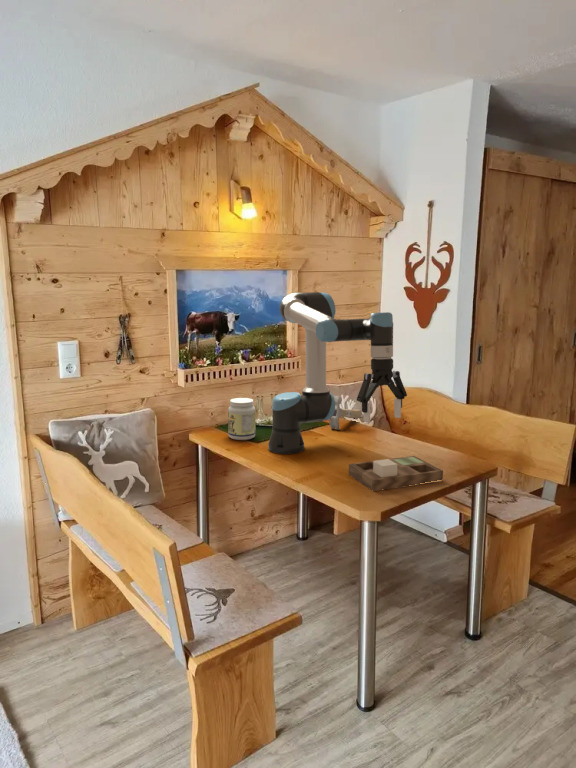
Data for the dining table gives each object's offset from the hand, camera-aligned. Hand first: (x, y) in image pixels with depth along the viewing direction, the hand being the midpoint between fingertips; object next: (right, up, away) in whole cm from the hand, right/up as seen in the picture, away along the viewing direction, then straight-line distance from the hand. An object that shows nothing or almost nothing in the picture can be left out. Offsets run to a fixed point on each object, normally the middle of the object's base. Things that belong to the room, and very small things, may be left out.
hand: (382, 419), depth 196 cm
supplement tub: (-53, -12, +60) cm, 81 cm away
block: (+1, -19, +2) cm, 19 cm away
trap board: (+6, -22, +9) cm, 24 cm away
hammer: (-4, -8, +84) cm, 84 cm away
